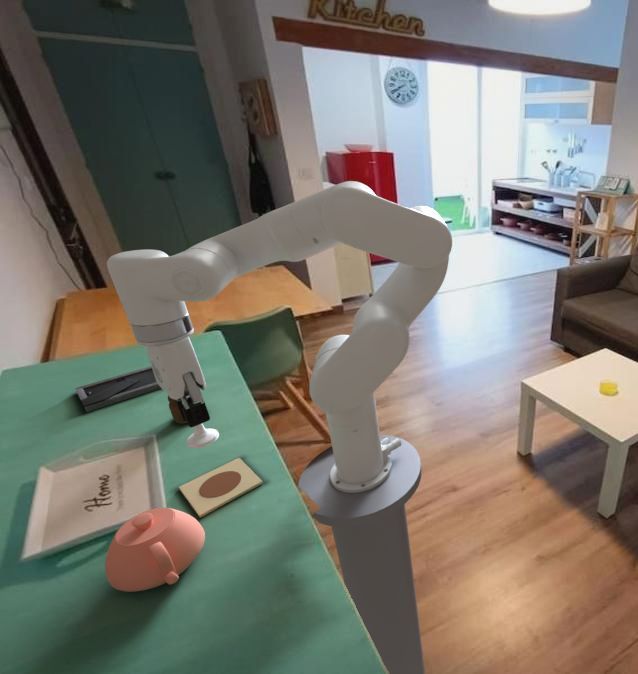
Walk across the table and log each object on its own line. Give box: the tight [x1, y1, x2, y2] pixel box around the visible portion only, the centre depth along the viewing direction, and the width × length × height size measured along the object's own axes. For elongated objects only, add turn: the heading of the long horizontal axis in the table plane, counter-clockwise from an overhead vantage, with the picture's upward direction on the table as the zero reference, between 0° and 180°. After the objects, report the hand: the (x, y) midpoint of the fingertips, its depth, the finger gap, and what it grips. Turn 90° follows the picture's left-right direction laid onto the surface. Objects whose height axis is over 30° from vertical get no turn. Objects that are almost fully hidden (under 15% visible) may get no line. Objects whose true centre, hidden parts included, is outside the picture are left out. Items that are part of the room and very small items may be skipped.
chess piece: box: [186, 395, 220, 449], centre depth 75 cm, size 5×5×10 cm
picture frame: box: [74, 365, 162, 413], centre depth 114 cm, size 13×2×18 cm
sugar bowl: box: [104, 507, 206, 593], centre depth 65 cm, size 12×14×10 cm
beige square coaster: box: [178, 457, 264, 519], centre depth 83 cm, size 11×11×1 cm
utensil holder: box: [167, 394, 188, 425], centre depth 100 cm, size 6×6×12 cm
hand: (196, 419), depth 75 cm, fingers closed on chess piece
